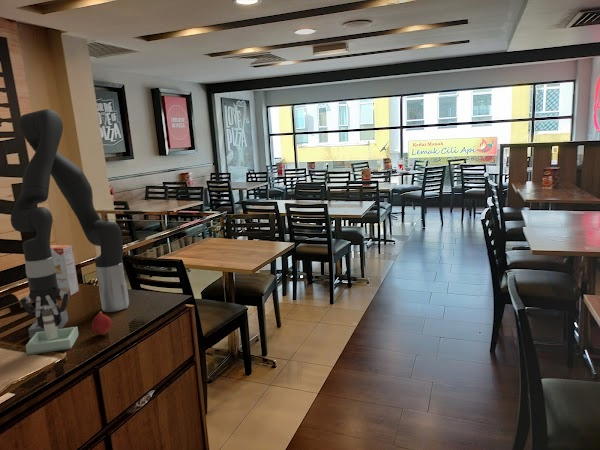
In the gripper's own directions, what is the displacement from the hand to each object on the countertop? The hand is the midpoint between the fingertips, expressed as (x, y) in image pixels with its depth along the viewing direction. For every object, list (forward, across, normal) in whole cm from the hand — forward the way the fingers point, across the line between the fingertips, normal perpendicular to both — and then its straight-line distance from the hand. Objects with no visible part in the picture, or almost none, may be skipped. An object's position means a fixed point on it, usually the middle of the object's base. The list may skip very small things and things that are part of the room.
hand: (50, 325), depth 136 cm
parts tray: (+6, 0, 0) cm, 6 cm away
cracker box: (+6, +12, -54) cm, 56 cm away
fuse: (+6, +5, -18) cm, 19 cm away
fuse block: (+6, +5, -14) cm, 16 cm away
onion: (+6, -14, -2) cm, 16 cm away
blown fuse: (+4, 0, 0) cm, 4 cm away
